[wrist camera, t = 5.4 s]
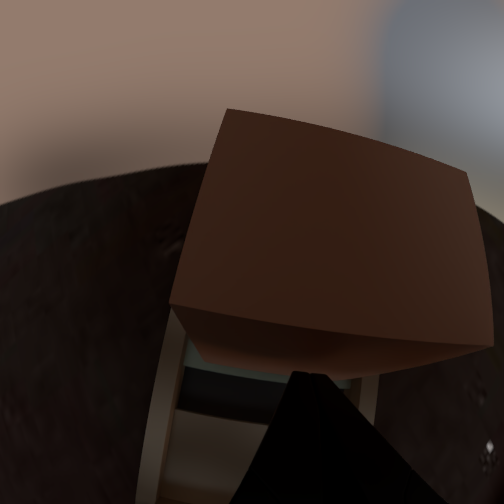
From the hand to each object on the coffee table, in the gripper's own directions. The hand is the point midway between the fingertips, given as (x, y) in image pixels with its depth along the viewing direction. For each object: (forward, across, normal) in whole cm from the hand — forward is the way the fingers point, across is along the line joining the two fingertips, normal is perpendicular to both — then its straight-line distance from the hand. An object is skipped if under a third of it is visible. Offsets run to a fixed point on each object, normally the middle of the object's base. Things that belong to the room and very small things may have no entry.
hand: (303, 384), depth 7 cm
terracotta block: (+6, 0, +2) cm, 6 cm away
